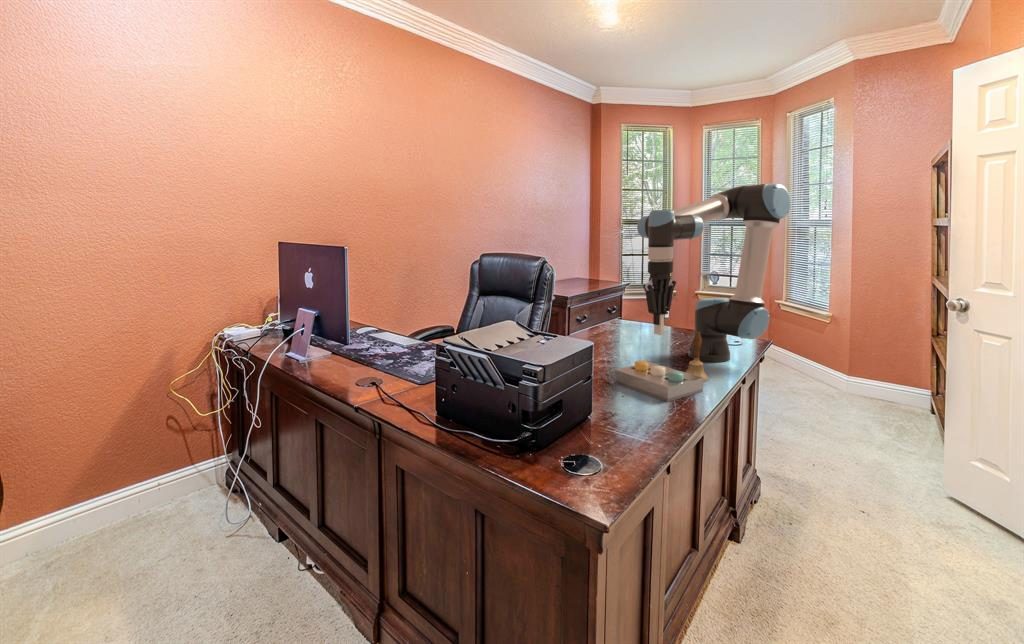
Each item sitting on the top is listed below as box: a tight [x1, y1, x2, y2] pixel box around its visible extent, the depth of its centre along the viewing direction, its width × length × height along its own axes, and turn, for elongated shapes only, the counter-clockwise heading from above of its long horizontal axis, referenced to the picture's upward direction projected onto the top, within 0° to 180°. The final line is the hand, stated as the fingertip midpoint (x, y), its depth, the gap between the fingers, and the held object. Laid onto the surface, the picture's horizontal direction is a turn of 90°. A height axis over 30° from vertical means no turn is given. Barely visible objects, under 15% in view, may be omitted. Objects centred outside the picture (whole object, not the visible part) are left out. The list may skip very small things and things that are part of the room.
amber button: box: [633, 360, 649, 372], centre depth 168 cm, size 5×5×4 cm
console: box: [614, 361, 704, 403], centre depth 162 cm, size 16×22×4 cm
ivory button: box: [650, 365, 666, 377], centre depth 162 cm, size 5×5×4 cm
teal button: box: [668, 370, 684, 383], centre depth 156 cm, size 5×5×4 cm
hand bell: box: [685, 332, 709, 382], centre depth 170 cm, size 8×8×16 cm
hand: (658, 334), depth 163 cm, fingers closed
